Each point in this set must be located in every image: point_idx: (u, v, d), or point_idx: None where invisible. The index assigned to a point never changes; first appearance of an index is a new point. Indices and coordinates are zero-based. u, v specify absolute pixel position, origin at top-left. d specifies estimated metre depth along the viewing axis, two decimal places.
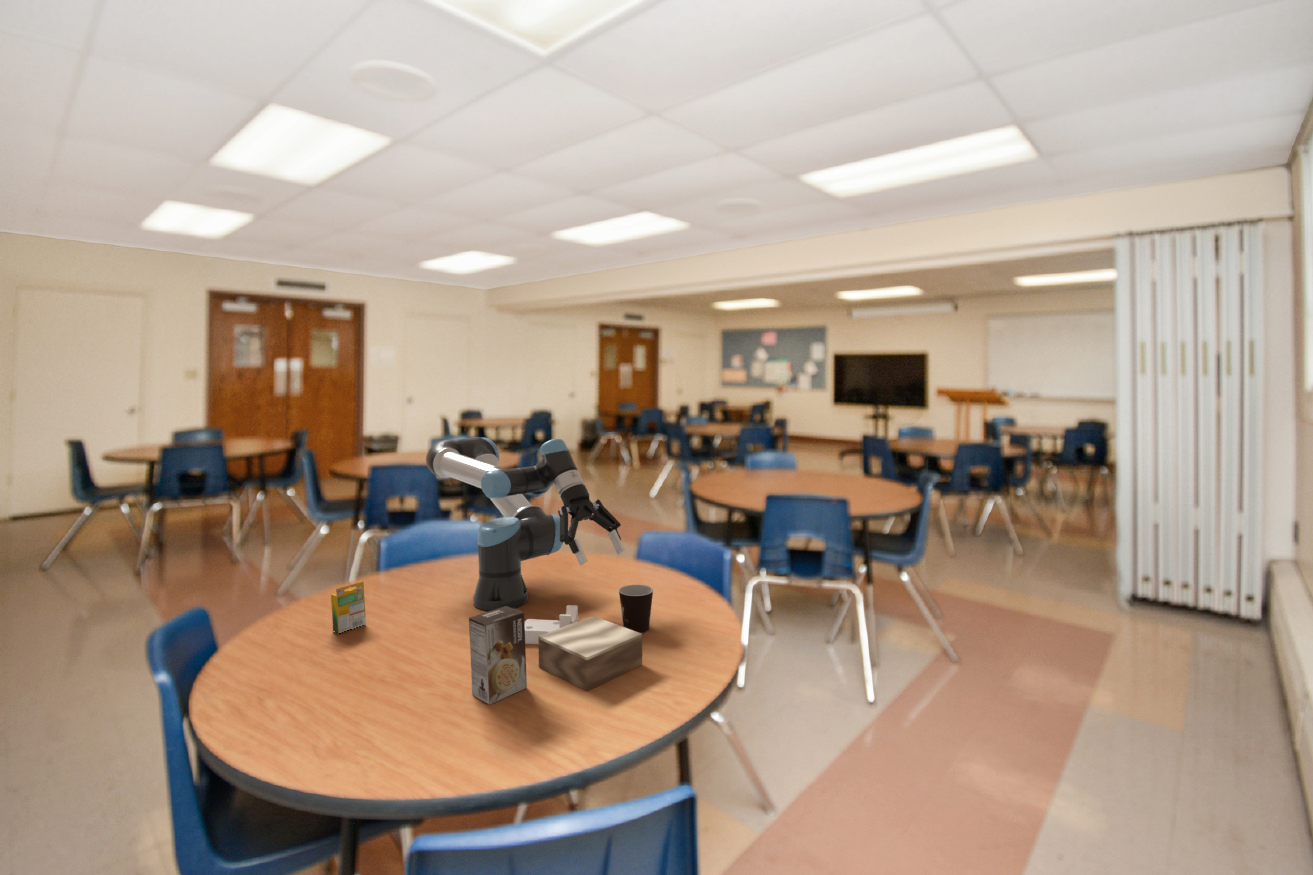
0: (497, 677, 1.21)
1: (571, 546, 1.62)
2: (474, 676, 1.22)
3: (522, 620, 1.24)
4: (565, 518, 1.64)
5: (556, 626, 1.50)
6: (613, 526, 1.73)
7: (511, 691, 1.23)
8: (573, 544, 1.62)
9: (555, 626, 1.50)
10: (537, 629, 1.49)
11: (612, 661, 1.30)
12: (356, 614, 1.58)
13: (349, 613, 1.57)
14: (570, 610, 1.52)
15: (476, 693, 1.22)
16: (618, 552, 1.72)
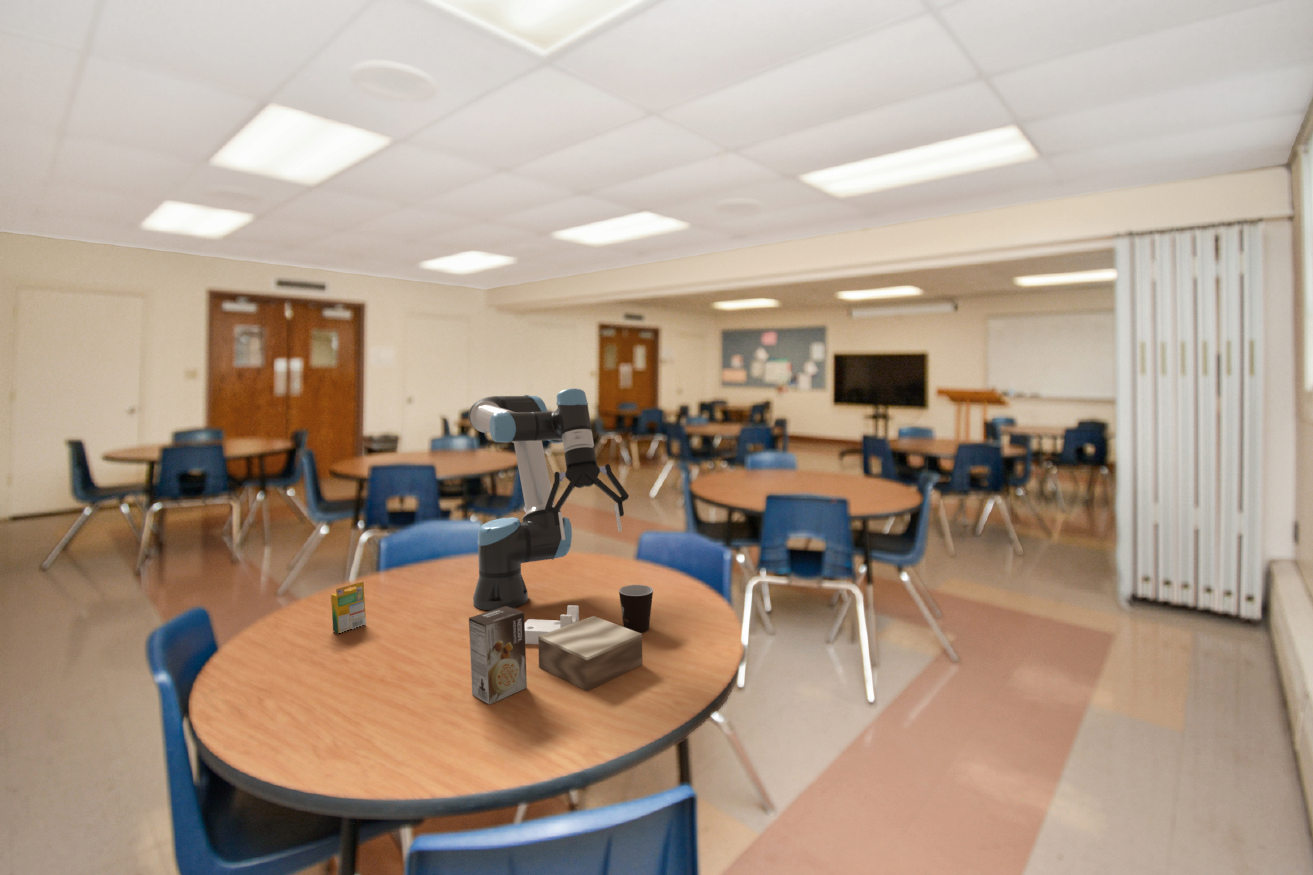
0: (497, 677, 1.21)
1: (554, 519, 1.48)
2: (474, 676, 1.22)
3: (522, 620, 1.24)
4: (553, 487, 1.49)
5: (557, 627, 1.50)
6: (617, 498, 1.50)
7: (511, 691, 1.23)
8: (555, 517, 1.48)
9: (556, 626, 1.50)
10: (538, 629, 1.48)
11: (612, 661, 1.30)
12: (356, 614, 1.58)
13: (349, 613, 1.57)
14: (571, 610, 1.52)
15: (476, 693, 1.22)
16: (618, 529, 1.50)
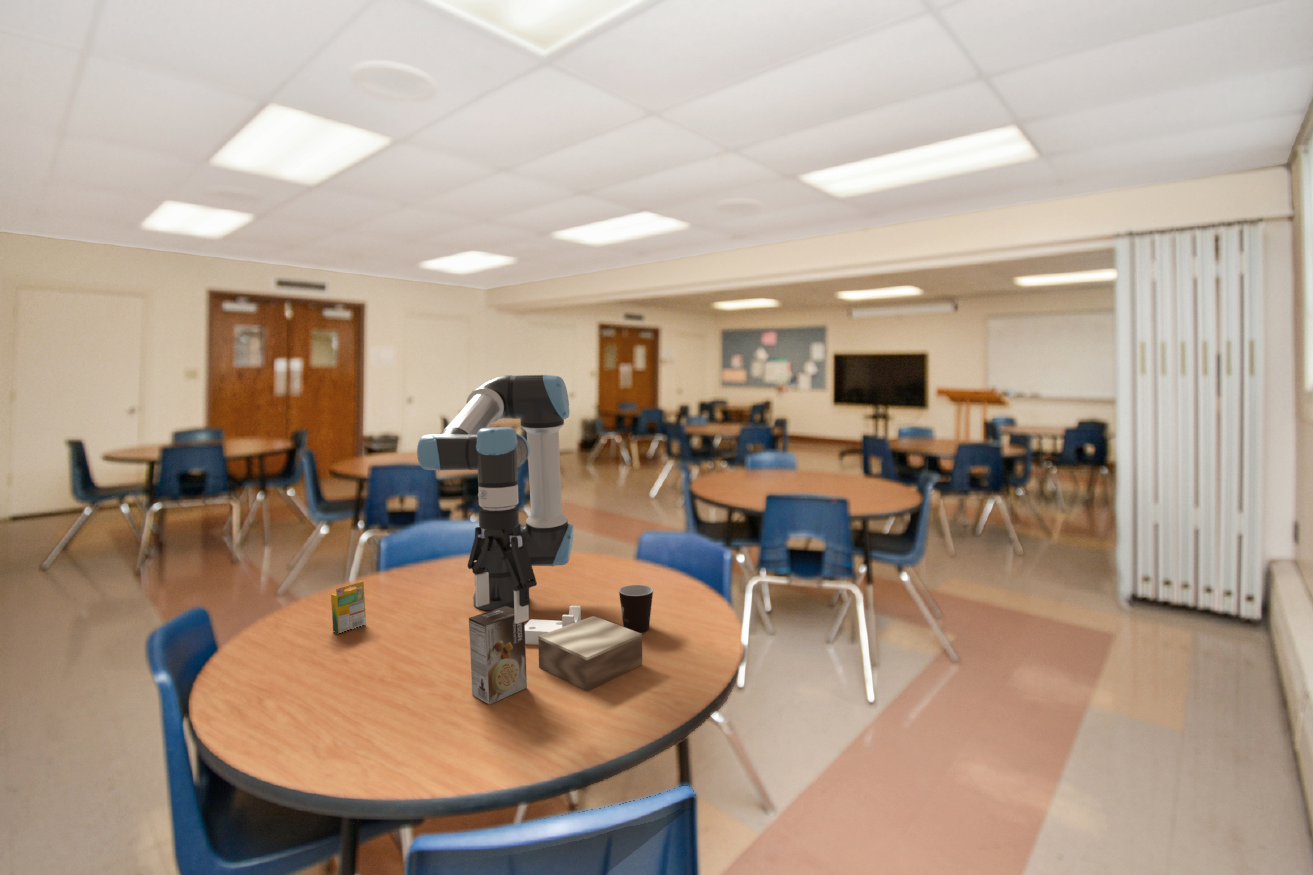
0: (497, 677, 1.21)
1: None
2: (474, 676, 1.22)
3: None
4: (474, 544, 1.25)
5: (558, 627, 1.50)
6: (516, 584, 1.16)
7: (511, 691, 1.23)
8: None
9: (558, 626, 1.50)
10: (540, 629, 1.48)
11: (612, 661, 1.30)
12: (356, 614, 1.58)
13: (349, 613, 1.57)
14: (573, 610, 1.52)
15: (476, 693, 1.22)
16: None
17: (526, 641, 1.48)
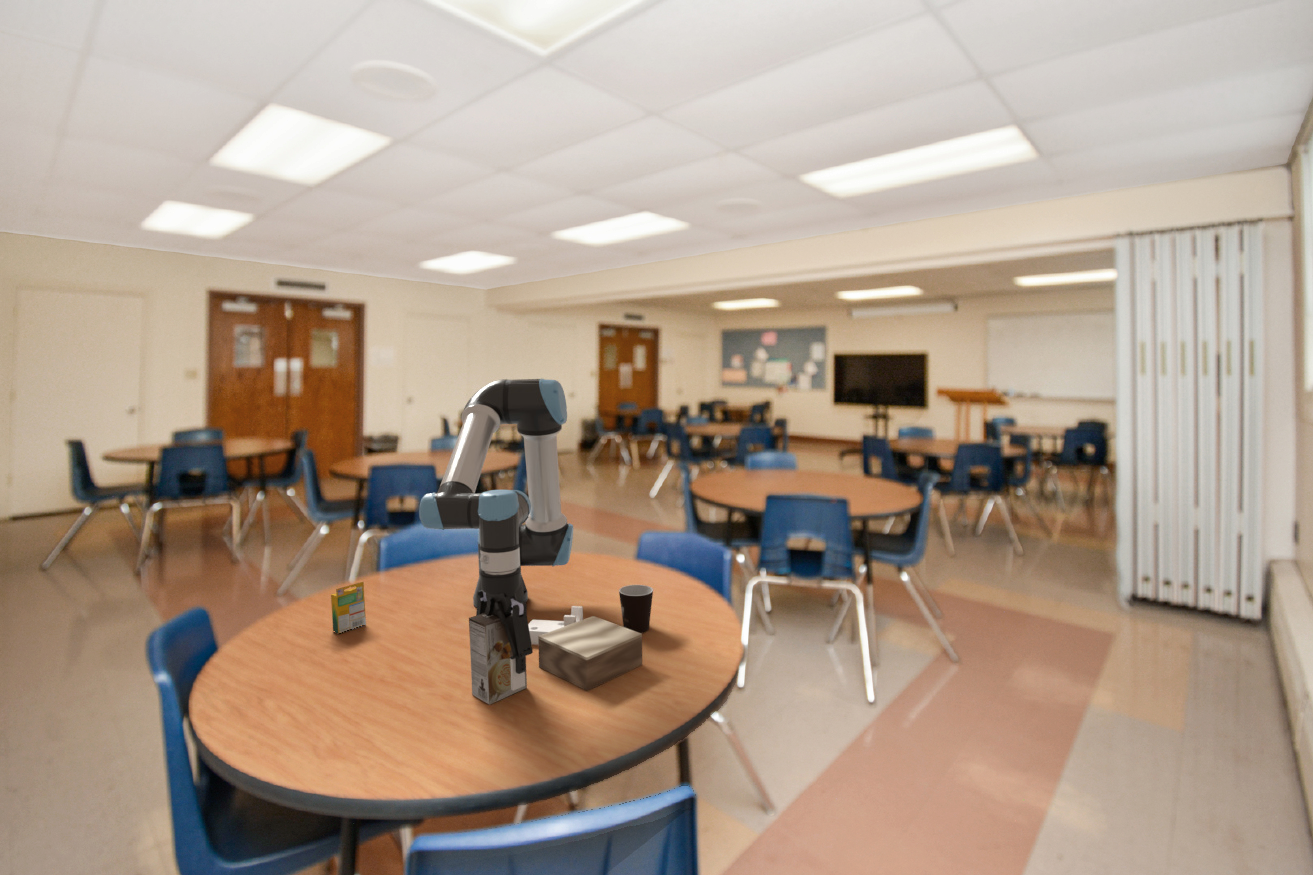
0: (497, 677, 1.21)
1: None
2: (474, 676, 1.22)
3: None
4: (477, 609, 1.26)
5: (560, 627, 1.49)
6: (513, 652, 1.18)
7: (511, 691, 1.23)
8: None
9: (560, 627, 1.50)
10: (542, 630, 1.48)
11: (612, 661, 1.30)
12: (356, 614, 1.58)
13: (349, 613, 1.57)
14: (575, 611, 1.52)
15: (476, 693, 1.22)
16: None
17: None
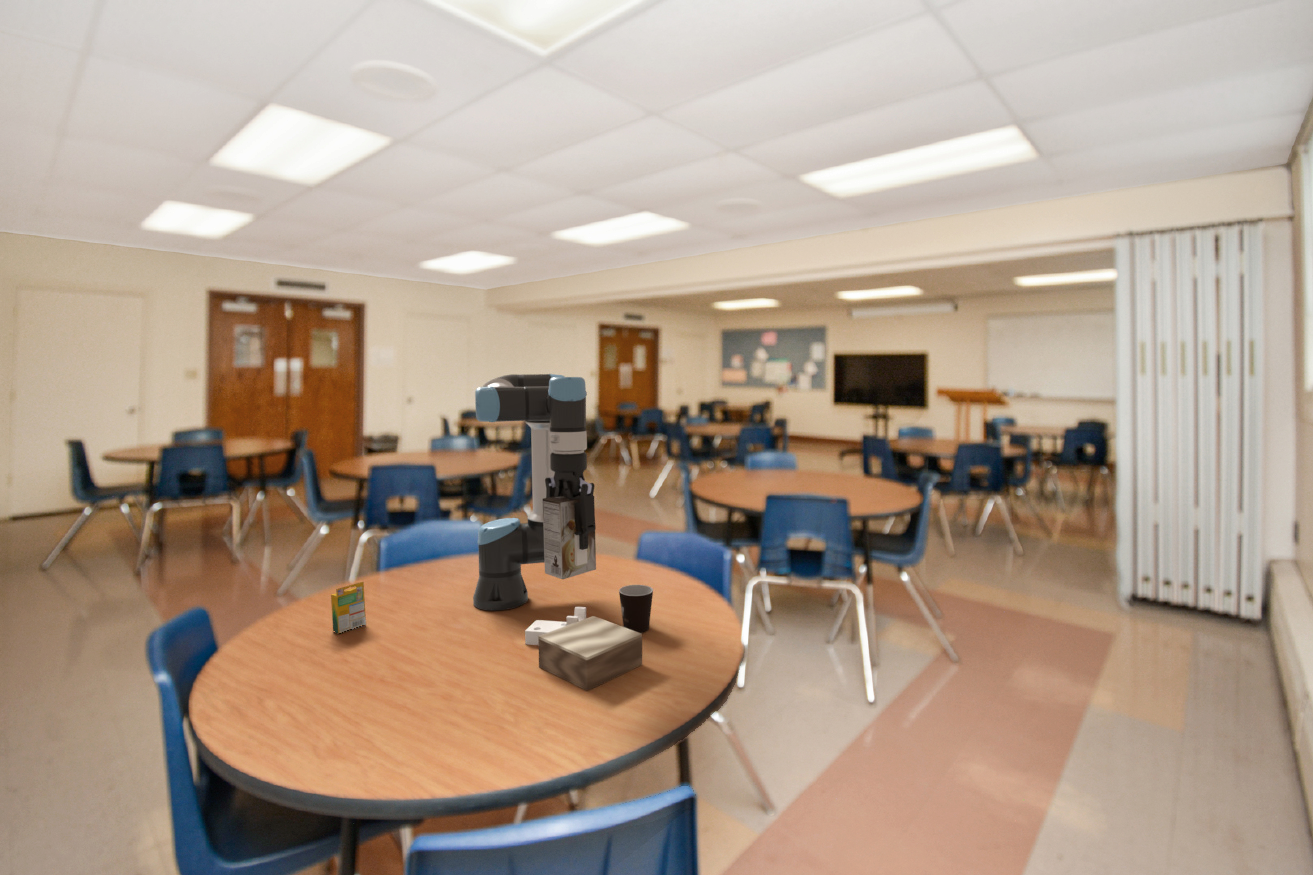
0: (570, 554, 1.26)
1: None
2: (547, 554, 1.28)
3: None
4: (547, 495, 1.32)
5: None
6: (577, 528, 1.26)
7: (582, 570, 1.29)
8: None
9: None
10: (545, 630, 1.48)
11: (612, 661, 1.30)
12: (356, 614, 1.58)
13: (349, 613, 1.57)
14: (578, 612, 1.51)
15: (549, 571, 1.28)
16: None
17: (531, 642, 1.48)
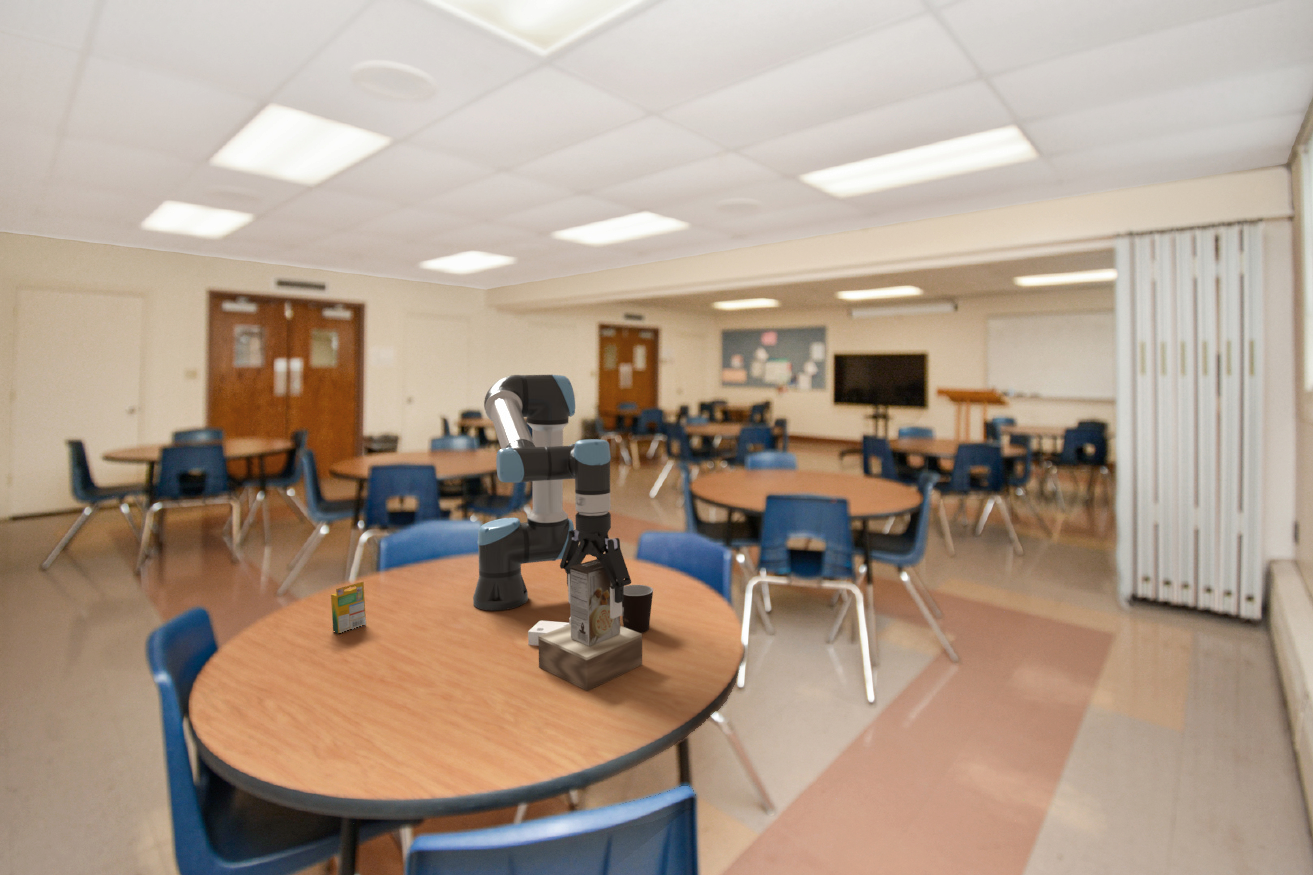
0: (596, 621, 1.30)
1: None
2: (574, 620, 1.32)
3: None
4: (567, 546, 1.37)
5: None
6: (613, 583, 1.28)
7: (607, 635, 1.33)
8: (568, 577, 1.39)
9: None
10: (547, 631, 1.47)
11: (612, 661, 1.30)
12: (356, 614, 1.58)
13: (349, 613, 1.57)
14: None
15: (575, 636, 1.32)
16: None
17: (534, 642, 1.47)
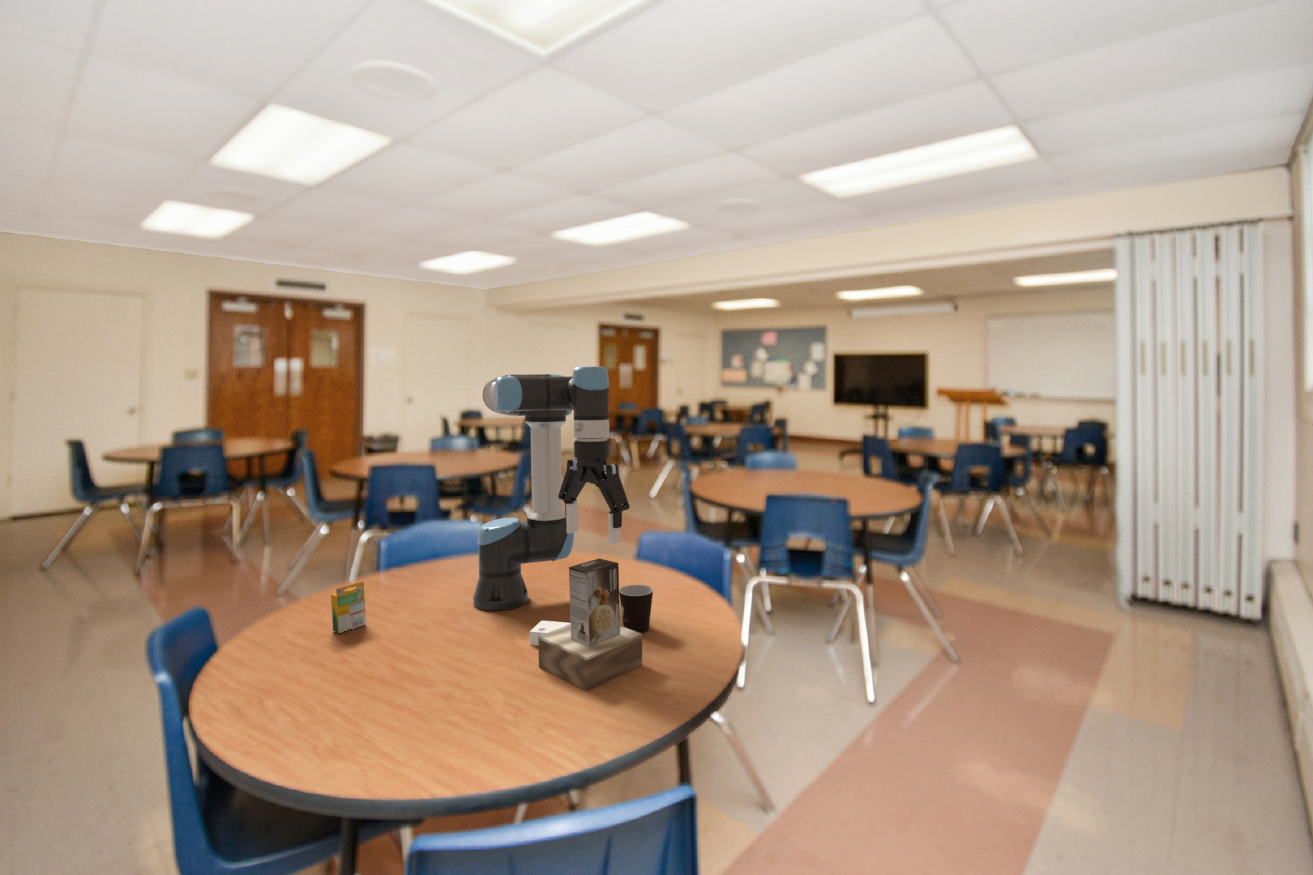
0: (596, 621, 1.30)
1: None
2: (574, 621, 1.32)
3: (617, 570, 1.34)
4: (565, 476, 1.37)
5: None
6: (611, 508, 1.27)
7: (607, 635, 1.33)
8: (566, 508, 1.38)
9: None
10: (549, 631, 1.47)
11: (612, 661, 1.30)
12: (356, 614, 1.58)
13: (349, 613, 1.57)
14: None
15: (575, 637, 1.32)
16: None
17: (535, 642, 1.47)
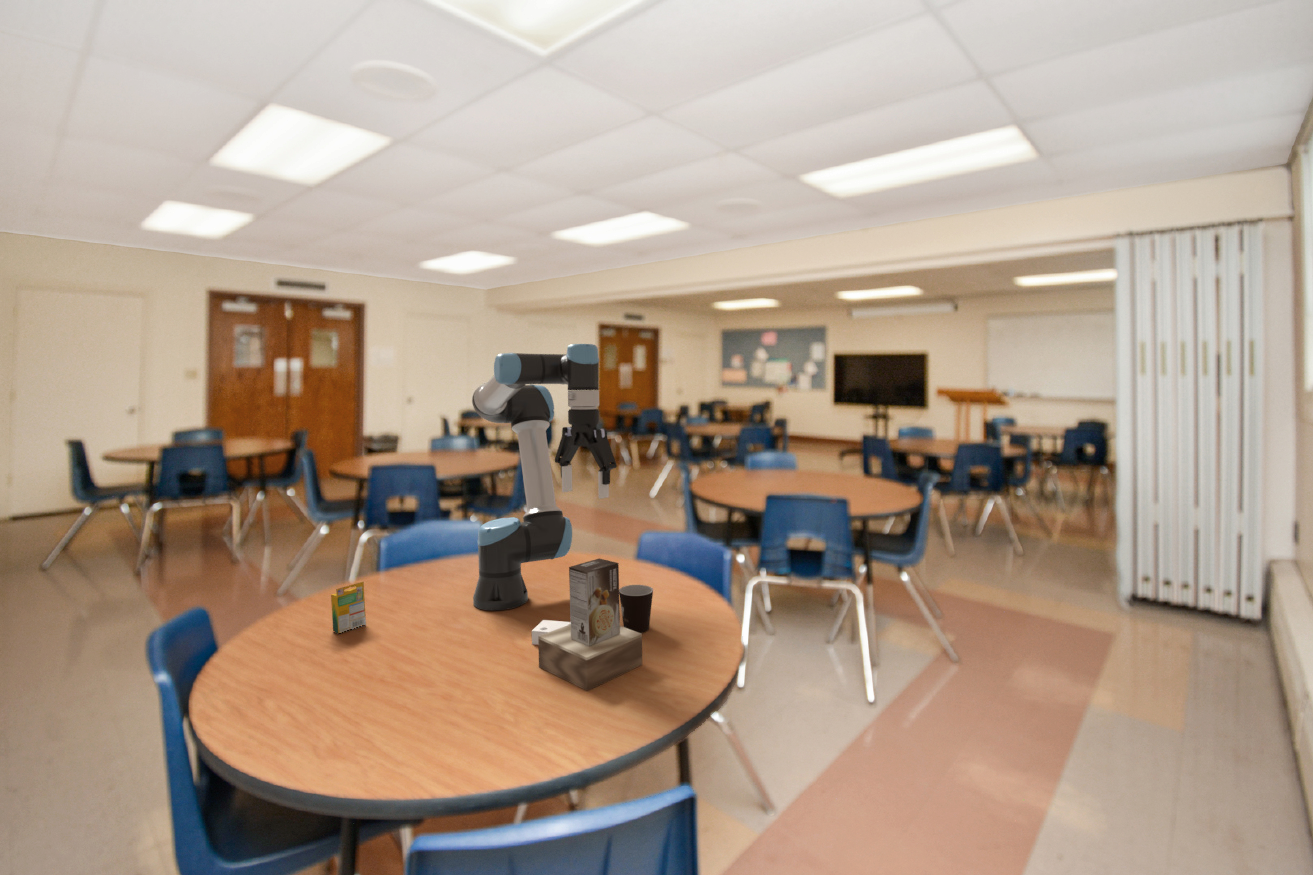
0: (596, 621, 1.30)
1: None
2: (574, 621, 1.32)
3: (617, 570, 1.34)
4: (561, 441, 1.55)
5: None
6: (600, 467, 1.46)
7: (607, 635, 1.33)
8: (561, 470, 1.57)
9: None
10: (551, 630, 1.48)
11: (612, 661, 1.30)
12: (356, 614, 1.58)
13: (349, 613, 1.57)
14: None
15: (575, 637, 1.32)
16: None
17: (537, 642, 1.48)
